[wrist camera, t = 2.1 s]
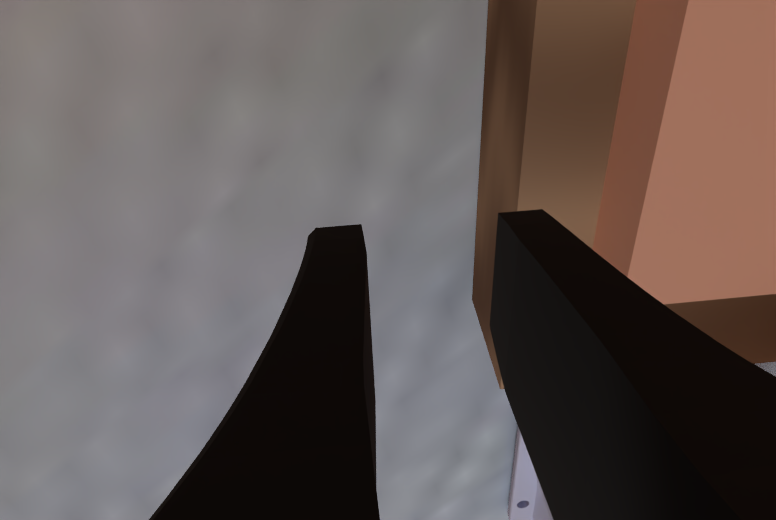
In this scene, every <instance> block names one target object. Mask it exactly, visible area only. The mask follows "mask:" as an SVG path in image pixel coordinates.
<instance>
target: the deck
mask: <svg viewBox="0 0 776 520" xmlns="http://www.w3.org/2000/svg"><path fill="white" fill-rule="evenodd" d="M635 6H636V0H488V19H487V37H486V56H485V74H484V92H483V111H482V129H481V148H480V166H479V184H478V203H477V221H476V239H475V258H474V276H473V295H472V300H473V304H474V307H475V310H476V313H477V316H478V320H479V323H480V326H481V329H482V332H483V336H484V339H485V342H486V345H487V348H488V351H489V355H490V358H491V361H492V364H493V367H494V371H495V374H496V377H497V380H498V383H499V387H500V389H504V385H503V381H502V377H501V373H500V369H499V365H498V361H497V357H496V352H495V348H494V343H493V339H492V335H491V330H490V313H491V299H492V286H493V273H494V260H495V246H496V233H497V220H498V213H502V212H514V211H526V210H538V209H543V210H544V211H545V212H547V213H548V214H549V215H551V216H552V217H553V218H554V219H556V220H557V221H558V222H559V223H561V224H562V225H563V226H564V227H566V228H567V229H568V230H569V231H571V232H572V233H573V234H574V235H575V236H577V237H578V238H579V239H580V240H581V241H583V242H584V243H585V244H586V245H588V246H589V247H590V248H591V249H592V248H593V243H594V237H595V232H596V226H597V220H598V215H599V209H600V203H601V198H602V192H603V186H604V181H605V175H606V170H607V164H608V158H609V153H610V147H611V141H612V136H613V130H614V124H615V119H616V113H617V107H618V102H619V96H620V91H621V85H622V79H623V74H624V68H625V62H626V57H627V51H628V45H629V40H630V34H631V29H632V23H633V17H634V12H635ZM664 305H665V306H667V307H668V308H669V309H671V310H672V311H673V312H675V313H676V314H678V315H679V316H681V317H682V318H684V319H685V320H687V321H688V322H689V323H691V324H692V325H694V326H695V327H697V328H698V329H700V330H701V331H703V332H704V333H706V334H707V335H709V336H710V337H712V338H713V339H715V340H716V341H717V342H719V343H721V344H722V345H724V346H725V347H727V348H728V349H730V350H732V351H733V352H735V353H736V354H738V355H740V356H741V357H743V358H744V359H746V360H748V361H749V362H751V363H753V364H755V363H765V362H775V361H776V294H769V295H758V296H748V297H737V298H726V299H716V300H705V301H695V302H684V303H673V304H664Z"/></svg>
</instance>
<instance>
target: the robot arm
mask: <svg viewBox="0 0 776 520" xmlns="http://www.w3.org/2000/svg"><path fill="white" fill-rule="evenodd" d="M490 330H491V335H492V339H493V343H494V348H495V352H496V357H497V361H498V365H499V369H500V373H501V377H502V381H503V385H504V389H505V392H506V395H507V397H508V400H509V403H510V406H511V408H512V411H513V414H514V416H515V419H516V422H517V424H518V431H517V439H516V447H515V455H514V463H513V472H512V480H511V488H510V496H509V504H508V516H509V520H776V377H775V376H773V375H772V374H770V373H768V372H766V371H765V370H763V369H761V368H760V367H758V366H756V365H754V364H753V363H751V362H749V361H748V360H746V359H744V358H743V357H741V356H740V355H738V354H736V353H735V352H733V351H732V350H730V349H728V348H727V347H725V346H724V345H722V344H721V343H719V342H717V341H716V340H715V339H713V338H712V337H710V336H709V335H707V334H706V333H704V332H703V331H701V330H700V329H698V328H697V327H695V326H694V325H692V324H691V323H689V322H688V321H687V320H685V319H684V318H682V317H681V316H679V315H678V314H676V313H675V312H673V311H672V310H671V309H669V308H668V307H667V306H665V305H664V304H662V303H661V302H660V301H658V300H657V299H656V298H654V297H653V296H651V295H650V294H649V293H647V292H646V291H645V290H643V289H642V288H641V287H639V286H638V285H637V284H636V283H634V282H633V281H632V280H630V279H629V278H628V277H626V276H625V275H624V274H623V273H621V272H620V271H619V270H618V269H616V268H615V267H614V266H612V265H611V264H610V263H609V262H607V261H606V260H605V259H604V258H602V257H601V256H600V255H599V254H597V253H596V252H595V251H594V250H593V249H591V248H590V247H589V246H588V245H586V244H585V243H584V242H583V241H581V240H580V239H579V238H578V237H577V236H575V235H574V234H573V233H572V232H571V231H569V230H568V229H567V228H566V227H564V226H563V225H562V224H561V223H559V222H558V221H557V220H556V219H554V218H553V217H552V216H551V215H549V214H548V213H547V212H545V211H544V210H543V209H538V210H526V211H514V212H502V213H498V220H497V233H496V246H495V260H494V273H493V286H492V299H491V313H490ZM149 520H380V517H379V509H378V500H377V492H376V416H375V387H374V370H373V354H372V337H371V320H370V303H369V286H368V270H367V253H366V247H365V241H364V236H363V231H362V226H361V224H359V225H347V226H335V227H323V228H316V229H315V230H314V231H313V232H312V233H311V234H310V235H309V236H308V240H307V246H306V250H305V254H304V257H303V260H302V264H301V267H300V269H299V272H298V275H297V278H296V280H295V283H294V285H293V288H292V291H291V293H290V295H289V297H288V300H287V302H286V304H285V306H284V309H283V311H282V313H281V315H280V317H279V320H278V322H277V324H276V326H275V328H274V330H273V332H272V335H271V337H270V339H269V340H268V342H267V344H266V346H265V348H264V350H263V351H262V353H261V355H260V357H259V359H258V361H257V362H256V364H255V366H254V368H253V370H252V372H251V373H250V375H249V377H248V379H247V381H246V383H245V384H244V386H243V388H242V389H241V391H240V393H239V394H238V396H237V398H236V399H235V401H234V402H233V404H232V406H231V407H230V409H229V410H228V412H227V414H226V415H225V417H224V418H223V420H222V421H221V423H220V424H219V426H218V427H217V429H216V430H215V432H214V433H213V435H212V436H211V438H210V439H209V441H208V442H207V443H206V445H205V446H204V448H203V449H202V451H201V452H200V454H199V455H198V456H197V458H196V459H195V460H194V462H193V463H192V464H191V466H190V467H189V468H188V470H187V471H186V472H185V474H184V475H183V476H182V478H181V479H180V480H179V482H178V483H177V484H176V486H175V487H174V488H173V490H172V491H171V492H170V494H169V495H168V496H167V498H166V499H165V500H164V501H163V503H162V504H161V505H160V506H159V508H158V509H157V510H156V511H155V513H154V514H153V515H152V516H151V518H150V519H149Z"/></svg>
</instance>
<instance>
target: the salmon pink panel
mask: <svg viewBox="0 0 776 520" xmlns="http://www.w3.org/2000/svg"><path fill="white" fill-rule="evenodd" d="M592 249H593V250H594V251H595V252H596V253H597V254H599V255H600V256H601V257H602V258H604V259H605V260H606V261H607V262H609V263H610V264H611V265H612V266H614V267H615V268H616V269H618V270H619V271H620V272H621V273H623V274H624V275H625V276H626V277H628V278H629V279H630V280H632V281H633V282H634V283H636V284H637V285H638V286H639V287H641V288H642V289H643V290H645V291H646V292H647V293H649V294H650V295H651V296H653V297H654V298H656V299H657V300H658V301H660V302H661V303H662V304H673V303H684V302H695V301H705V300H716V299H726V298H737V297H748V296H758V295H769V294H776V0H636V6H635V12H634V17H633V23H632V29H631V34H630V40H629V45H628V51H627V57H626V62H625V68H624V74H623V79H622V85H621V91H620V96H619V102H618V107H617V113H616V119H615V124H614V130H613V136H612V141H611V147H610V153H609V158H608V164H607V170H606V175H605V181H604V186H603V192H602V198H601V203H600V209H599V215H598V220H597V226H596V232H595V237H594V243H593V248H592Z"/></svg>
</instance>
